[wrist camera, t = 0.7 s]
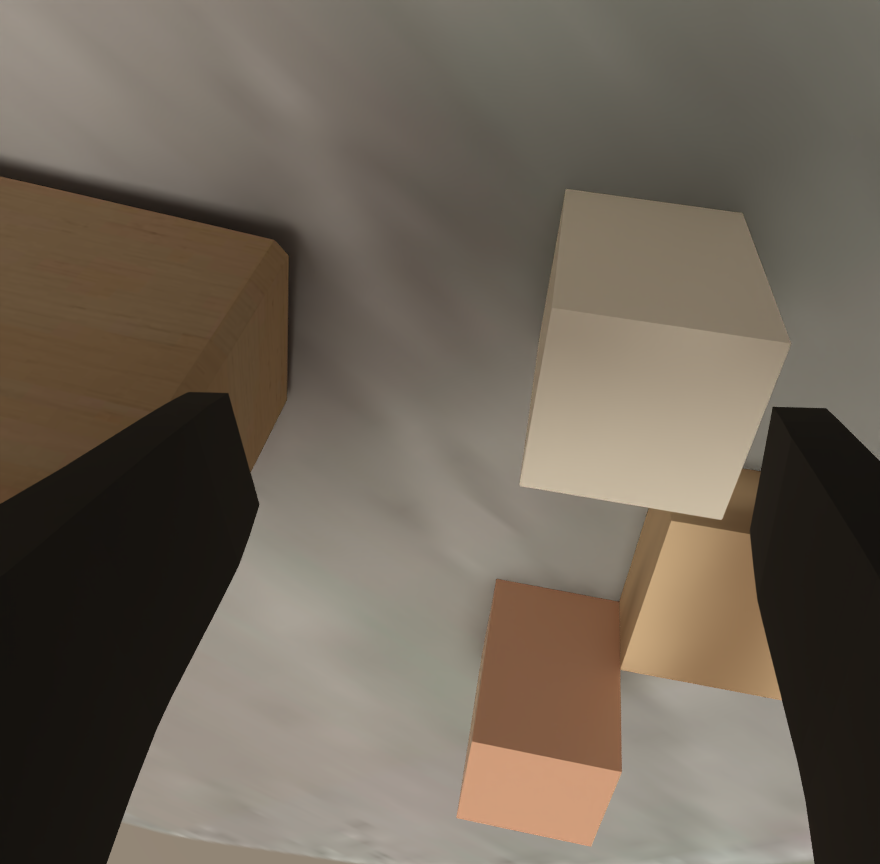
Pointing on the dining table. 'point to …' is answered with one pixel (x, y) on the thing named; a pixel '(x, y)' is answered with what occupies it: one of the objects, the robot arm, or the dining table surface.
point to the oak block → (698, 600)
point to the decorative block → (127, 325)
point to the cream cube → (651, 355)
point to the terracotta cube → (545, 715)
